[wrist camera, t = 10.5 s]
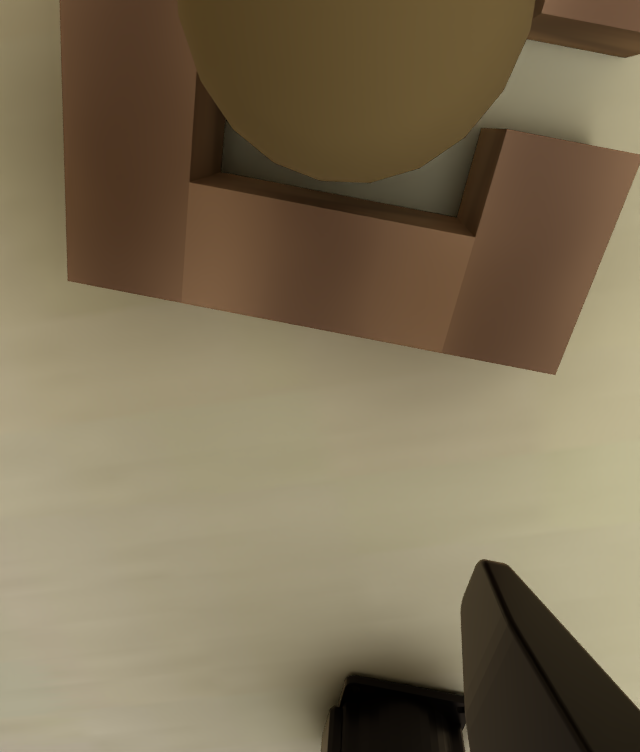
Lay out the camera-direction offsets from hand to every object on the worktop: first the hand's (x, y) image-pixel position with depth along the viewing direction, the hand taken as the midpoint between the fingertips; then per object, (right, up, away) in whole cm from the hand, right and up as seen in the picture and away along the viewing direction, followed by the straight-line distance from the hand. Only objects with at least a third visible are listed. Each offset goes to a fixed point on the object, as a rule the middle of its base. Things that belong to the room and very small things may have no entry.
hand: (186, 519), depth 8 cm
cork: (+3, +12, +8) cm, 15 cm away
